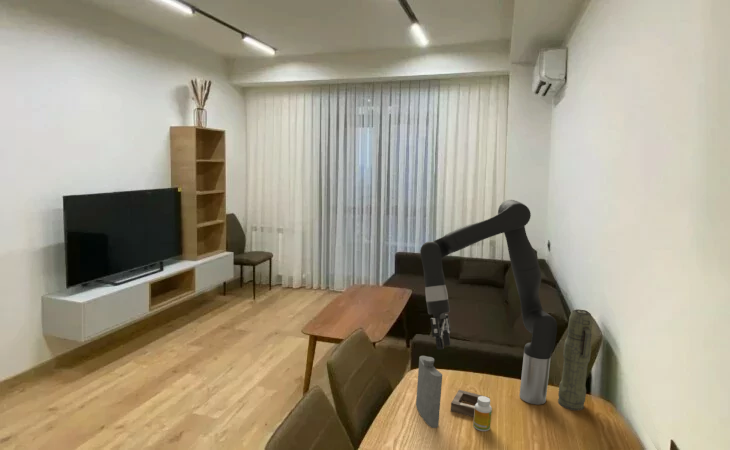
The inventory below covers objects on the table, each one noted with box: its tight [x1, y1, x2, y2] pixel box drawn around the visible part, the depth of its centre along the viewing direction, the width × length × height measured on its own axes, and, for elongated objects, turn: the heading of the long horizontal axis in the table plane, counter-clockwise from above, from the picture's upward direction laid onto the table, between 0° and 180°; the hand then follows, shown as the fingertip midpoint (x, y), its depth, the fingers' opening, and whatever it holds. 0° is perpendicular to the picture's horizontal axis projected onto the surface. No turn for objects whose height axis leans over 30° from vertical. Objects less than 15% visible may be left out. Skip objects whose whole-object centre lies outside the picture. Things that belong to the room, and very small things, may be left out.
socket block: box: [450, 389, 490, 418], centre depth 162 cm, size 11×11×3 cm
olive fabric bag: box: [557, 309, 593, 411], centre depth 167 cm, size 9×12×35 cm
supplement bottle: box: [472, 395, 493, 432], centre depth 150 cm, size 5×5×10 cm
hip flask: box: [415, 355, 443, 429], centre depth 155 cm, size 16×4×20 cm, turn 12°
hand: (444, 347), depth 158 cm, fingers open, 8 cm apart
